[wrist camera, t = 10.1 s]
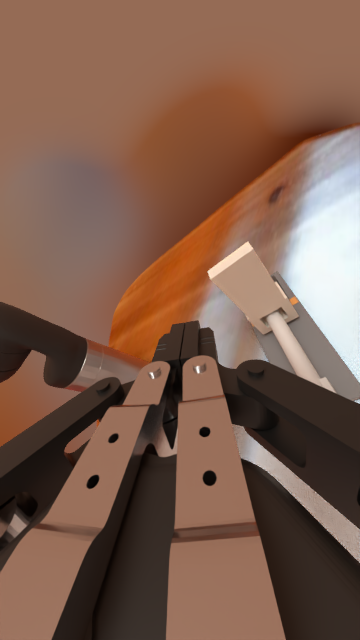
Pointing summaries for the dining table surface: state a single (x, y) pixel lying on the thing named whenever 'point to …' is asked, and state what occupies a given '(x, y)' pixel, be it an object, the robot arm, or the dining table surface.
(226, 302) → the dining table surface
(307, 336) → the pipe stand
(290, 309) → the peach lever handle
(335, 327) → the dining table surface
